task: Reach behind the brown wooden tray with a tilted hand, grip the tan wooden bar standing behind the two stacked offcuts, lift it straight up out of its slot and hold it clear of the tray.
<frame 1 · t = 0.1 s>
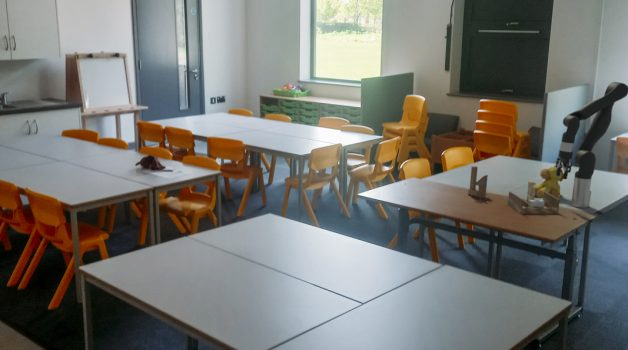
hand: (561, 177, 384), 17 cm above the table, tool pointing down, fingers open, 8 cm apart
grey offcut: (536, 205, 371), point 4 cm above the table, touching oak offcut
tan wooden bar: (529, 207, 379), point 1 cm above the table, touching brown wooden tray
oak offcut: (535, 210, 371), point 1 cm above the table, touching grey offcut, brown wooden tray
yellow stuffed toy: (547, 196, 411), on the table
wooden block: (476, 196, 405), on the table
brown wooden tray: (532, 211, 375), on the table
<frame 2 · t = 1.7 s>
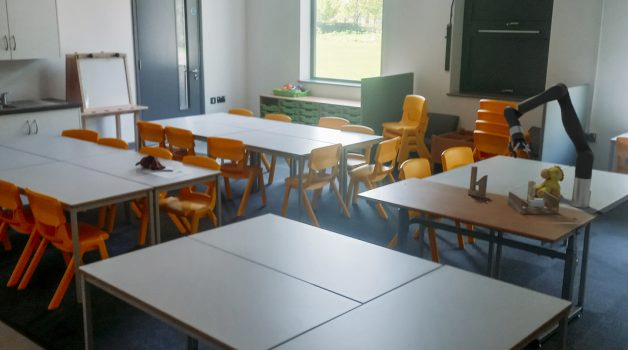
hand: (523, 157, 388), 27 cm above the table, tool tilted 45°, fingers open, 8 cm apart
nothing on the table moved.
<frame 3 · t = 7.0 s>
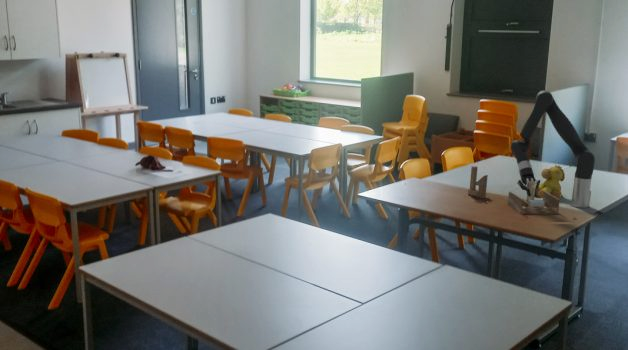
hand: (532, 195, 375), 8 cm above the table, tool tilted 45°, fingers closed on tan wooden bar, 2 cm apart
tan wooden bar: (529, 207, 379), point 1 cm above the table, touching gripper, brown wooden tray
everything else where it was.
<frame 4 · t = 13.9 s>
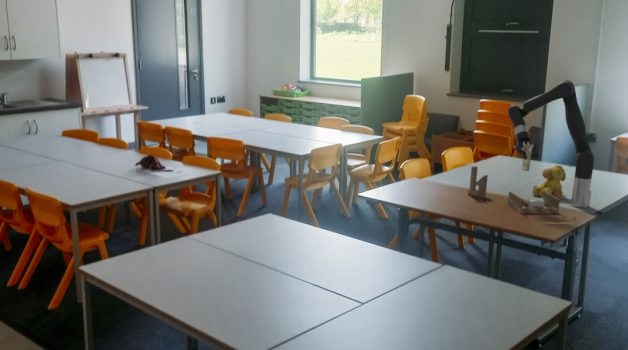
hand: (528, 158, 381), 28 cm above the table, tool tilted 45°, fingers closed on tan wooden bar, 2 cm apart
tan wooden bar: (525, 170, 384), point 21 cm above the table, touching gripper
at the end: the gripper is holding tan wooden bar; tan wooden bar inside the target area (0.9 cm from its centre), point 20.6 cm above the table; grey offcut moved 0.0 cm from its start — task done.
